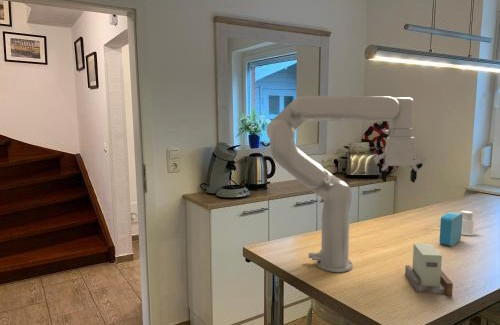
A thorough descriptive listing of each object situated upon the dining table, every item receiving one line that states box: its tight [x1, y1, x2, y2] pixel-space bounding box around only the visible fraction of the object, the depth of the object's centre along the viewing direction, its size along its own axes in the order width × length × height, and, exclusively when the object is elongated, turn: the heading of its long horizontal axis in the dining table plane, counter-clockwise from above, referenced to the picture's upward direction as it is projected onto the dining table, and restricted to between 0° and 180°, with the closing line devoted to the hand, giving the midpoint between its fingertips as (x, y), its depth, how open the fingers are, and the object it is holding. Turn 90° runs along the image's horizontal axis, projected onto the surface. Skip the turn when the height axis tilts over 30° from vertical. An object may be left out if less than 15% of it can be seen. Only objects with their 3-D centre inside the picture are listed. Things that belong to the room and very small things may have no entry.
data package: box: [438, 211, 462, 247], centre depth 159 cm, size 12×4×12 cm, turn 133°
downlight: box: [460, 210, 475, 236], centre depth 170 cm, size 8×7×10 cm
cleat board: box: [404, 264, 454, 297], centre depth 124 cm, size 10×20×4 cm, turn 172°
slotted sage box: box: [411, 242, 443, 287], centre depth 122 cm, size 6×10×10 cm, turn 172°
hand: (398, 181), depth 135 cm, fingers open, 9 cm apart
